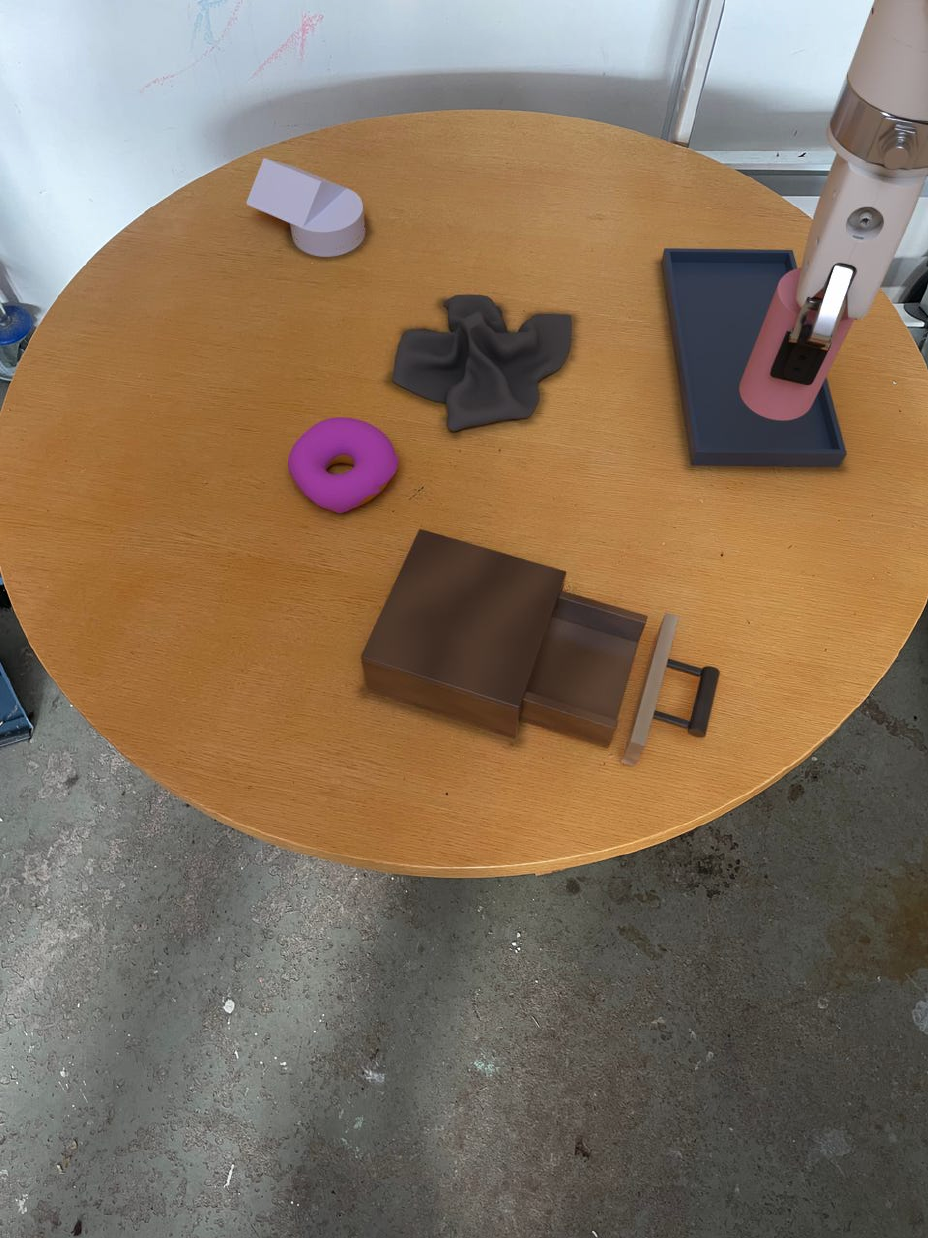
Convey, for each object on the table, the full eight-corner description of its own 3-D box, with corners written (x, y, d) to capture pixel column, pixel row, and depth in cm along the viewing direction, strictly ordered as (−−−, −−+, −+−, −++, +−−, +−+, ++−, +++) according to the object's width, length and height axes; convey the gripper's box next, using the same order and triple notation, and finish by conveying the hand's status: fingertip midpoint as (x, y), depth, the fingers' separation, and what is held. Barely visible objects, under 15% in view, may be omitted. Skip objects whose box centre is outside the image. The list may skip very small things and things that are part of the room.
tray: (839, 467, 89) (847, 453, 87) (690, 465, 89) (695, 451, 87) (786, 264, 104) (792, 249, 102) (660, 262, 104) (664, 247, 102)
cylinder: (817, 376, 72) (866, 276, 64) (807, 428, 69) (857, 330, 61) (745, 359, 73) (784, 258, 64) (733, 410, 70) (772, 311, 62)
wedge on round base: (251, 228, 107) (336, 266, 104) (239, 177, 101) (329, 215, 98) (296, 190, 111) (379, 225, 107) (287, 138, 105) (375, 174, 102)
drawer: (717, 657, 77) (732, 631, 73) (688, 784, 71) (702, 764, 67) (534, 602, 80) (538, 574, 75) (491, 720, 74) (493, 697, 70)
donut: (277, 467, 88) (268, 437, 84) (361, 423, 91) (357, 392, 87) (329, 535, 84) (323, 506, 80) (416, 487, 87) (414, 457, 83)
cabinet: (559, 609, 80) (566, 571, 75) (514, 739, 74) (519, 708, 68) (422, 568, 82) (419, 527, 77) (367, 691, 76) (360, 656, 70)
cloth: (486, 457, 89) (488, 415, 84) (356, 371, 95) (350, 327, 90) (612, 340, 98) (621, 295, 92) (485, 268, 104) (487, 222, 98)
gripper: (957, 217, 47) (832, 441, 62) (970, 52, 55) (856, 287, 71) (817, 189, 48) (729, 416, 64) (850, 31, 56) (764, 267, 72)
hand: (797, 346), depth 67 cm, fingers closed on cylinder, 6 cm apart
